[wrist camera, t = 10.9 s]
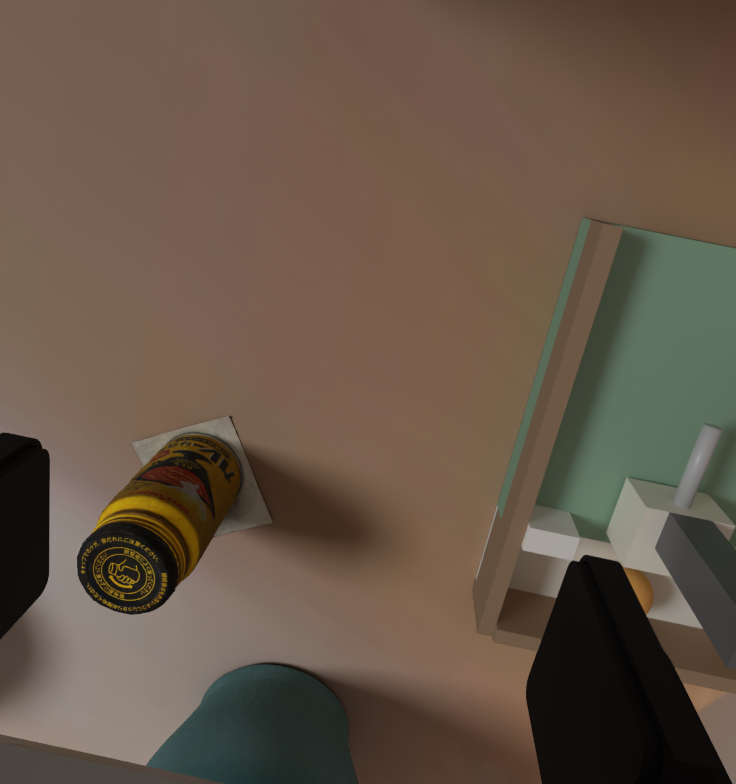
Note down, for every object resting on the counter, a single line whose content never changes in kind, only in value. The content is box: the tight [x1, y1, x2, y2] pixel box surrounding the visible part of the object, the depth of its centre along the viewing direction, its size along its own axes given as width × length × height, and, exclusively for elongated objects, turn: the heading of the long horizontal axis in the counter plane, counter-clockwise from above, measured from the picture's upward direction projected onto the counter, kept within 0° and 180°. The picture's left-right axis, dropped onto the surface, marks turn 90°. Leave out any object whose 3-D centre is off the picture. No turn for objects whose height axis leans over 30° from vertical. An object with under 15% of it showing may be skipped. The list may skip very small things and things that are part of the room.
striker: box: [606, 423, 736, 669], centre depth 32 cm, size 9×5×13 cm, turn 170°
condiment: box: [77, 416, 273, 615], centre depth 38 cm, size 7×8×12 cm
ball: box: [621, 564, 654, 614], centre depth 41 cm, size 4×4×4 cm
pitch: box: [472, 217, 736, 694], centre depth 37 cm, size 26×18×5 cm
